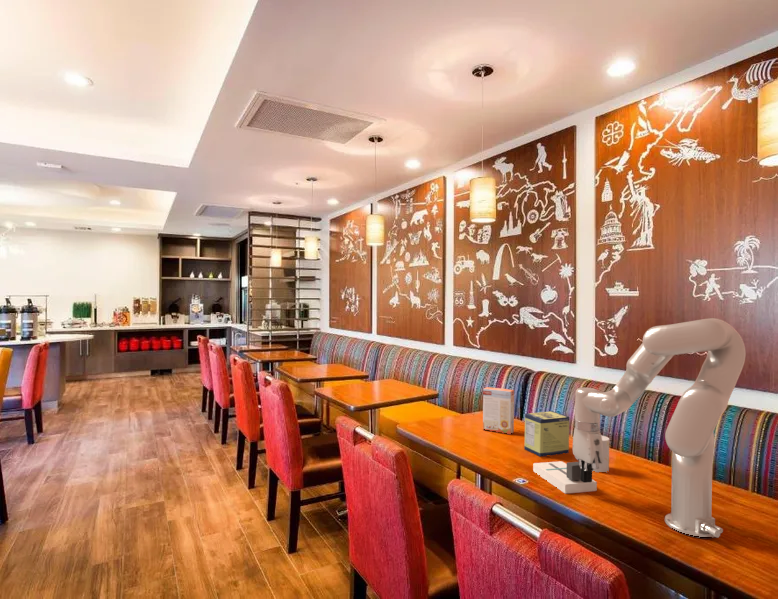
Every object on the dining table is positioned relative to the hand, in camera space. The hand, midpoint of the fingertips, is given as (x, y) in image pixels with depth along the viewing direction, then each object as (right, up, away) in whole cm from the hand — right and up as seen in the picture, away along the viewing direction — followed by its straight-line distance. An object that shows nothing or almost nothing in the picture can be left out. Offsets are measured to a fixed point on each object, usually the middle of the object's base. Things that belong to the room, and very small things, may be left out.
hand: (586, 481), depth 149 cm
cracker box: (-11, -5, +73) cm, 74 cm away
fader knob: (-1, -1, +5) cm, 6 cm away
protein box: (+2, -5, +44) cm, 45 cm away
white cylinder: (+15, -5, +25) cm, 29 cm away
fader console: (-3, -5, +12) cm, 13 cm away
